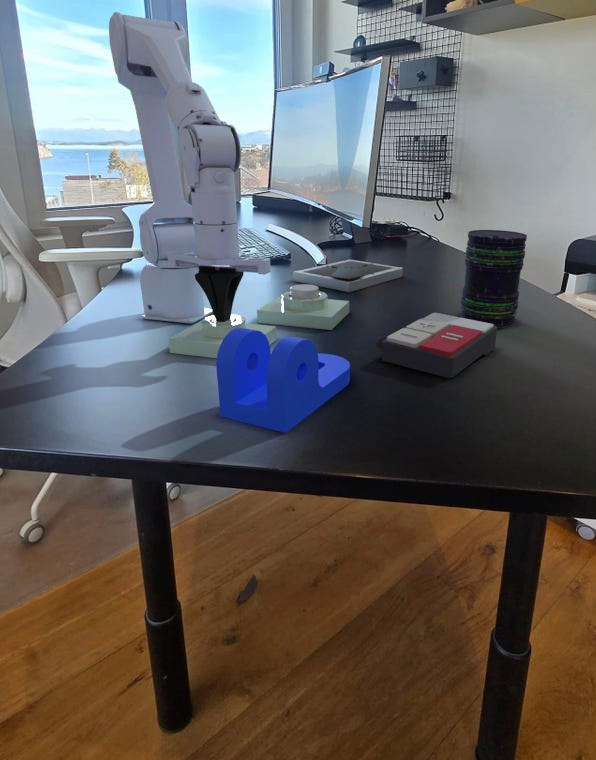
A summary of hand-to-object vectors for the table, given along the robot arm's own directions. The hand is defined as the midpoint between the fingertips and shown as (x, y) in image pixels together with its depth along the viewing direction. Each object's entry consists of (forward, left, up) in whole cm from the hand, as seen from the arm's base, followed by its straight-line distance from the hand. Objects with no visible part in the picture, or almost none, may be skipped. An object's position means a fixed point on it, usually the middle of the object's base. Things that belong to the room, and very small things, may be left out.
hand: (223, 320), depth 79 cm
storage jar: (+37, +27, -4) cm, 46 cm away
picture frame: (+5, +51, -4) cm, 51 cm away
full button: (+6, +18, 0) cm, 19 cm away
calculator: (+31, +6, -4) cm, 32 cm away
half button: (0, 0, -2) cm, 2 cm away
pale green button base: (0, 0, -4) cm, 4 cm away
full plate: (+6, +18, -4) cm, 19 cm away
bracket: (+16, -13, -4) cm, 21 cm away
